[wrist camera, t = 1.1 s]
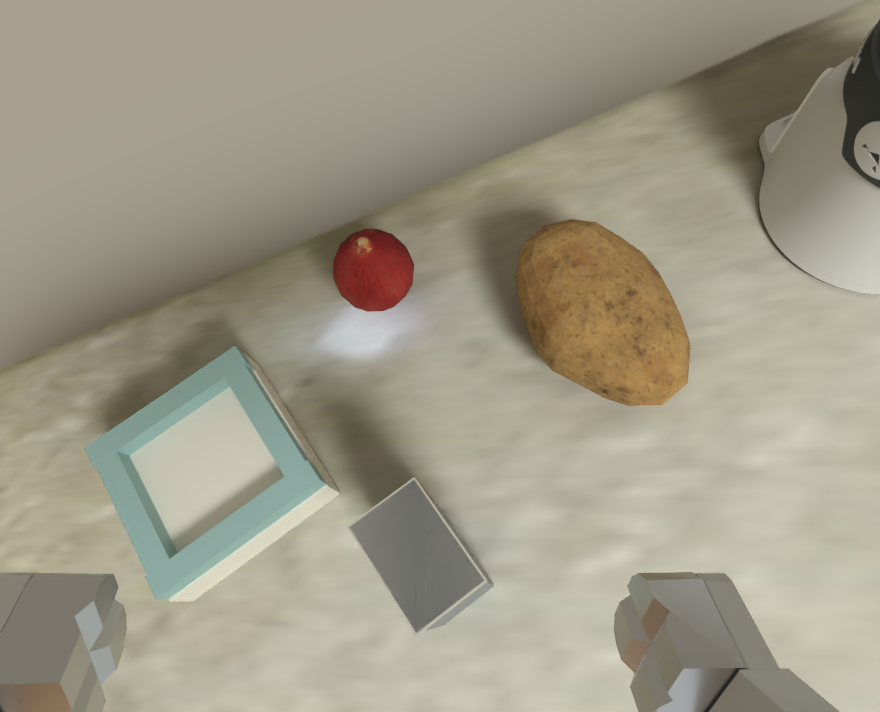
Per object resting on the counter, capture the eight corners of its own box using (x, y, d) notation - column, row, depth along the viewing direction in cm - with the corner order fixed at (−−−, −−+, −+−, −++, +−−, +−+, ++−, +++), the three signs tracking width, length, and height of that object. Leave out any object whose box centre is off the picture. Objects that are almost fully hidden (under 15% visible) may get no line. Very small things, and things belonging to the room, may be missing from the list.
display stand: (259, 366, 48) (234, 343, 44) (340, 493, 43) (321, 482, 39) (123, 459, 46) (83, 445, 42) (192, 601, 42) (156, 601, 38)
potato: (594, 457, 42) (609, 427, 35) (486, 300, 47) (480, 245, 40) (713, 385, 43) (753, 340, 36) (594, 238, 48) (607, 173, 41)
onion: (333, 295, 49) (299, 241, 42) (386, 248, 50) (362, 187, 43) (381, 342, 47) (354, 294, 40) (436, 292, 48) (420, 236, 41)
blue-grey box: (440, 506, 42) (414, 476, 32) (496, 585, 40) (487, 580, 30) (389, 544, 42) (346, 526, 32) (443, 627, 39) (415, 636, 29)
